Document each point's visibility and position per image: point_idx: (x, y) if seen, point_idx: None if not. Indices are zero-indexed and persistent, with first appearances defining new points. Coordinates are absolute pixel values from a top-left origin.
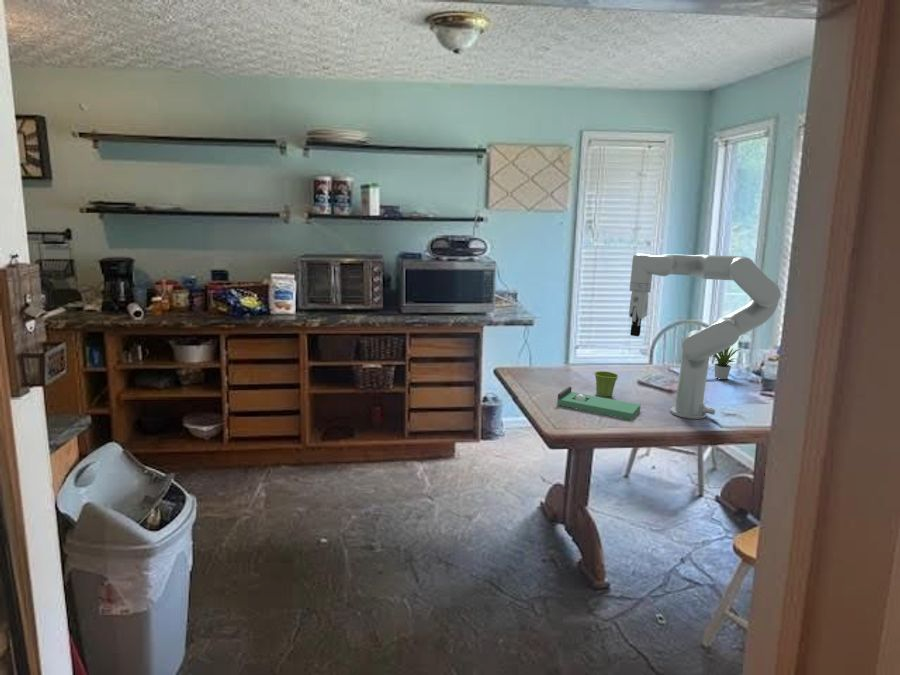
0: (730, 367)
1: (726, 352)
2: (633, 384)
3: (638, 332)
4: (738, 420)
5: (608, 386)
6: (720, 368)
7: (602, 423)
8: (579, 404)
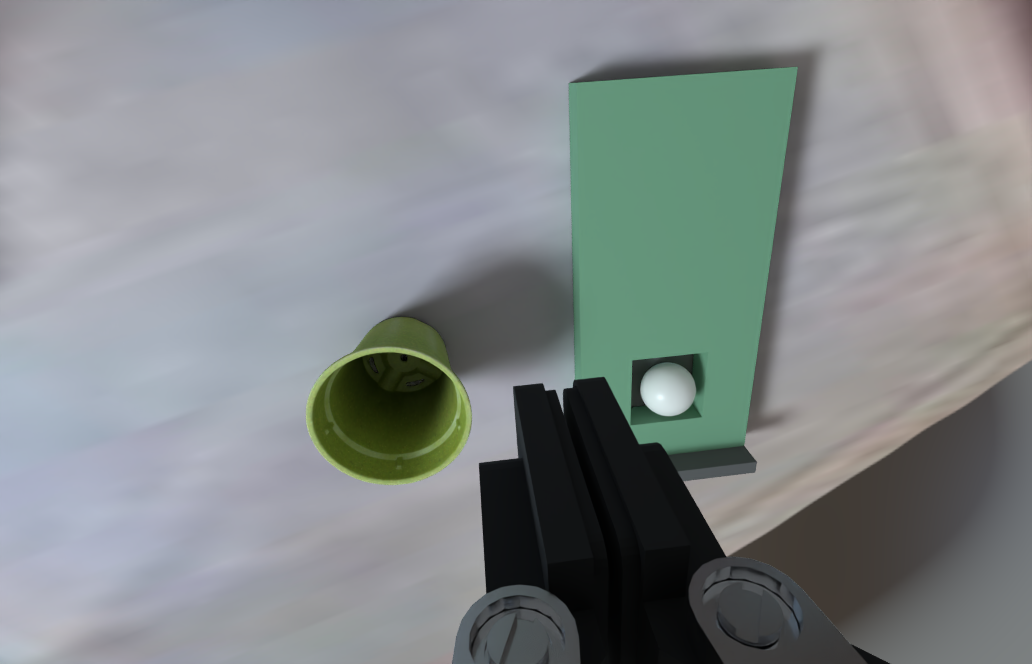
0: None
1: None
2: (10, 311)
3: (627, 431)
4: None
5: (440, 352)
6: None
7: (901, 181)
8: (753, 359)
